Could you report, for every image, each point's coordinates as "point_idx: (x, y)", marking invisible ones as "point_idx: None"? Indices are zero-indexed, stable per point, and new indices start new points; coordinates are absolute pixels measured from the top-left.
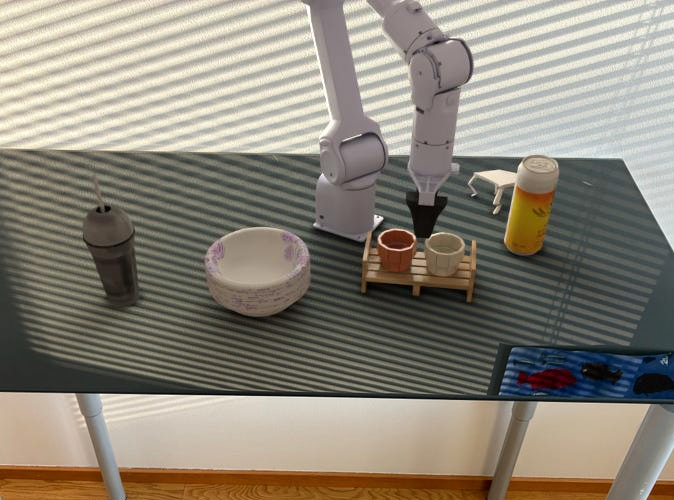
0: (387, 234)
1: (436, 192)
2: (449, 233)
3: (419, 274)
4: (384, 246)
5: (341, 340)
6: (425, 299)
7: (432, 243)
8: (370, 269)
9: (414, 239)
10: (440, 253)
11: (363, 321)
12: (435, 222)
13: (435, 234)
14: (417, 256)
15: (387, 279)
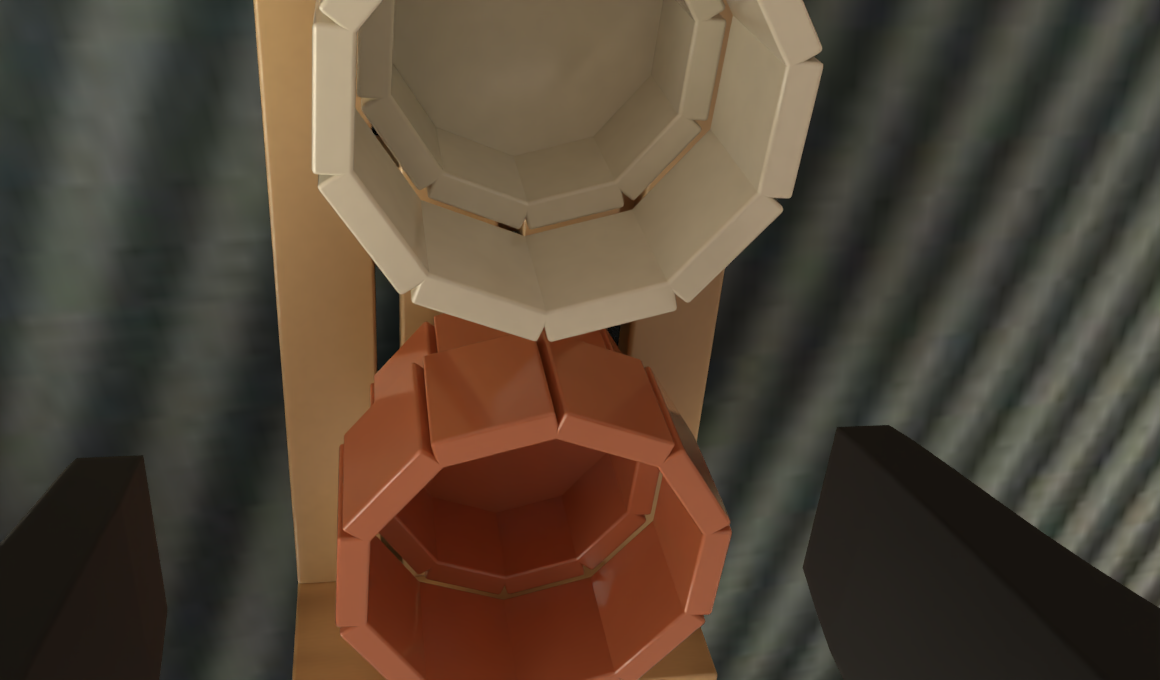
0: (406, 641)
1: (47, 657)
2: (325, 64)
3: (619, 209)
4: (657, 652)
5: (1057, 516)
6: None
7: (413, 213)
8: None
9: (521, 443)
10: (786, 168)
11: (917, 441)
12: (1123, 587)
13: (385, 240)
14: (353, 245)
15: (696, 431)
